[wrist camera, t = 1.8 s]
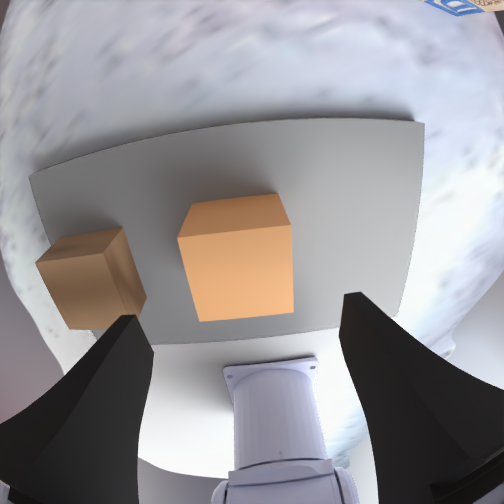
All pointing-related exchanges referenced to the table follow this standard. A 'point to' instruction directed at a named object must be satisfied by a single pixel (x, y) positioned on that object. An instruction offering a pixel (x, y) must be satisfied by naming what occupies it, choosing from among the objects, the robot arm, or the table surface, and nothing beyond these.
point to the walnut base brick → (93, 279)
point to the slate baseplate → (252, 184)
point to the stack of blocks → (467, 6)
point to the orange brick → (238, 257)
